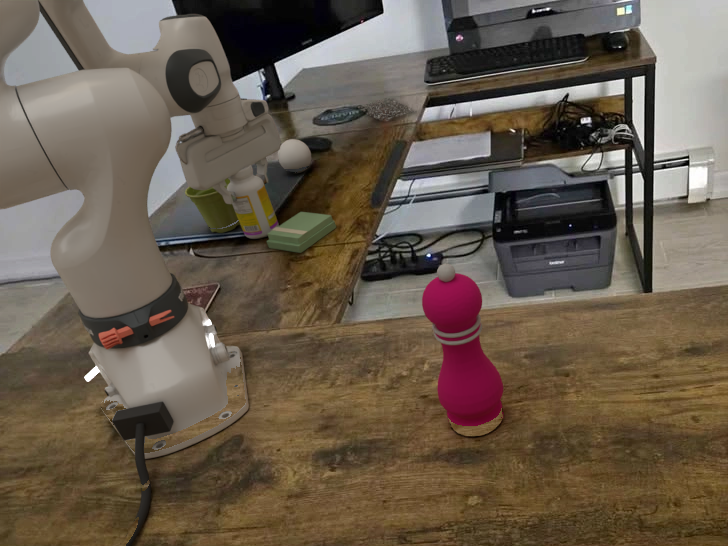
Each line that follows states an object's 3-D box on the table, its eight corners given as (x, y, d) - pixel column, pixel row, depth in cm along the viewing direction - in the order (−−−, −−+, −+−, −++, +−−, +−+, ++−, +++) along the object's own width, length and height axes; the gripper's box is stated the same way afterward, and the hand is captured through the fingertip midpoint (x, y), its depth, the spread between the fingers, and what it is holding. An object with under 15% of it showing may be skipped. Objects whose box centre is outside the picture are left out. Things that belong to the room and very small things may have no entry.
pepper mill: (437, 411, 78) (399, 260, 67) (494, 390, 80) (466, 239, 68) (457, 450, 73) (419, 292, 61) (518, 426, 74) (492, 269, 62)
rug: (388, 99, 190) (388, 95, 190) (416, 112, 176) (415, 109, 175) (356, 108, 187) (355, 105, 187) (382, 123, 173) (381, 119, 172)
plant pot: (252, 228, 131) (236, 185, 125) (203, 242, 129) (185, 200, 123) (247, 211, 138) (232, 171, 133) (201, 225, 136) (184, 184, 131)
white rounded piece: (321, 169, 152) (312, 137, 147) (292, 181, 149) (281, 148, 144) (301, 161, 159) (291, 130, 154) (273, 172, 155) (262, 140, 151)
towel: (301, 253, 118) (296, 239, 117) (268, 248, 122) (263, 234, 121) (336, 227, 125) (332, 214, 123) (305, 223, 129) (300, 210, 127)
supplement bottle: (273, 220, 132) (250, 157, 124) (284, 231, 127) (261, 165, 120) (240, 233, 130) (215, 169, 122) (250, 243, 125) (224, 178, 117)
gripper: (184, 140, 107) (217, 219, 115) (273, 98, 121) (296, 172, 129) (159, 138, 110) (193, 216, 118) (248, 98, 124) (273, 170, 132)
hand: (247, 192), depth 124 cm, fingers closed on supplement bottle, 7 cm apart
